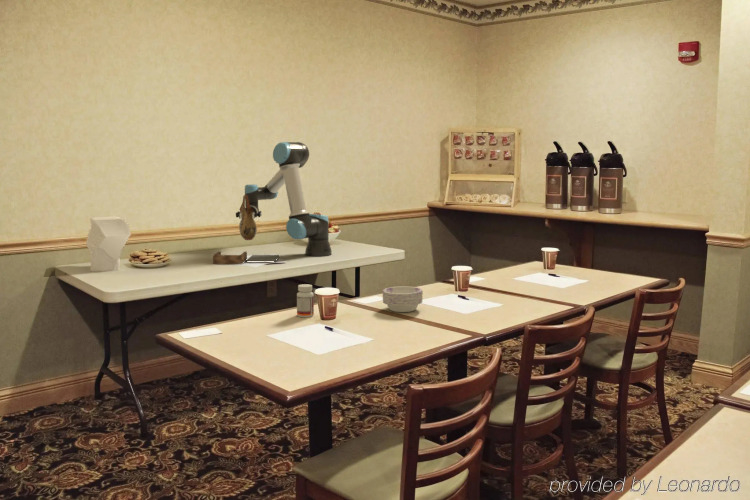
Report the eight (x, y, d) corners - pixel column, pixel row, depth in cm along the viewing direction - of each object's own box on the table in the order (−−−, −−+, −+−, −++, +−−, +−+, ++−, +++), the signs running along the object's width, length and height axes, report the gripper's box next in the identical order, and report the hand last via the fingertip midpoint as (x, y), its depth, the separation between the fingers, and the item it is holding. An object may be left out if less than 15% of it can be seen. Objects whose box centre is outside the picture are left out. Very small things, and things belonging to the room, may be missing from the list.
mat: (279, 257, 380) (279, 254, 380) (274, 262, 362) (274, 260, 362) (252, 256, 380) (252, 254, 380) (246, 262, 362) (246, 260, 362)
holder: (247, 259, 370) (246, 251, 369) (242, 263, 357) (242, 255, 357) (218, 259, 370) (218, 251, 369) (213, 263, 357) (212, 255, 357)
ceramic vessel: (261, 240, 370) (258, 194, 367) (246, 241, 366) (242, 195, 362) (251, 237, 384) (248, 193, 381) (236, 239, 380) (232, 194, 376)
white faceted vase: (87, 273, 328) (84, 220, 324) (87, 264, 352) (84, 215, 349) (133, 270, 336) (130, 219, 332) (130, 262, 361) (127, 214, 357)
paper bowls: (381, 305, 266) (381, 285, 265) (419, 305, 267) (420, 285, 266) (383, 314, 251) (383, 293, 250) (424, 314, 252) (425, 293, 251)
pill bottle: (306, 312, 254) (305, 283, 252) (317, 315, 249) (317, 285, 248) (293, 315, 249) (293, 285, 247) (304, 318, 245) (304, 287, 243)
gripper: (267, 218, 392) (264, 222, 369) (234, 219, 390) (229, 223, 367) (266, 205, 391) (264, 208, 368) (233, 206, 389) (228, 209, 366)
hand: (246, 216), depth 368 cm, fingers closed on ceramic vessel, 6 cm apart
